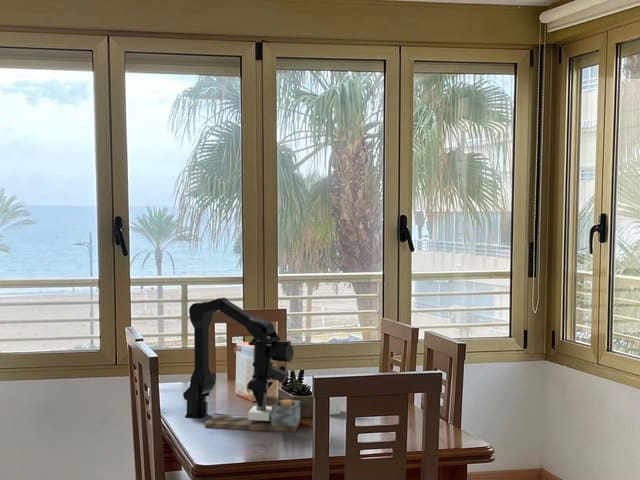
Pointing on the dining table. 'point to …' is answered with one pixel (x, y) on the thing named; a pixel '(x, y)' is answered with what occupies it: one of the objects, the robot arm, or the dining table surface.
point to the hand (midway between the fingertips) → (261, 405)
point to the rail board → (280, 420)
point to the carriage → (260, 412)
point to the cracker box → (244, 370)
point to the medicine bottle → (335, 406)
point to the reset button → (286, 402)
